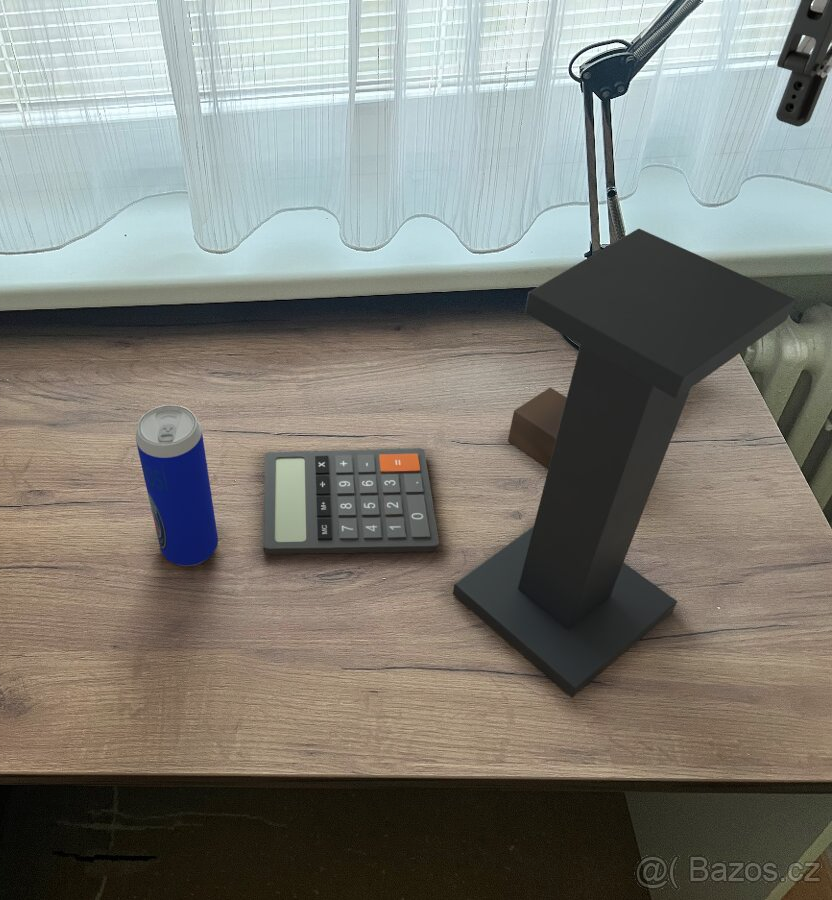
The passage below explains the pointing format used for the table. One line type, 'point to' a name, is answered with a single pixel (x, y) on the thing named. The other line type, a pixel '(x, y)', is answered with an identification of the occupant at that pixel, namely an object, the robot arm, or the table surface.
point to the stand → (613, 447)
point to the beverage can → (177, 483)
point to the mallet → (538, 425)
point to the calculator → (348, 502)
